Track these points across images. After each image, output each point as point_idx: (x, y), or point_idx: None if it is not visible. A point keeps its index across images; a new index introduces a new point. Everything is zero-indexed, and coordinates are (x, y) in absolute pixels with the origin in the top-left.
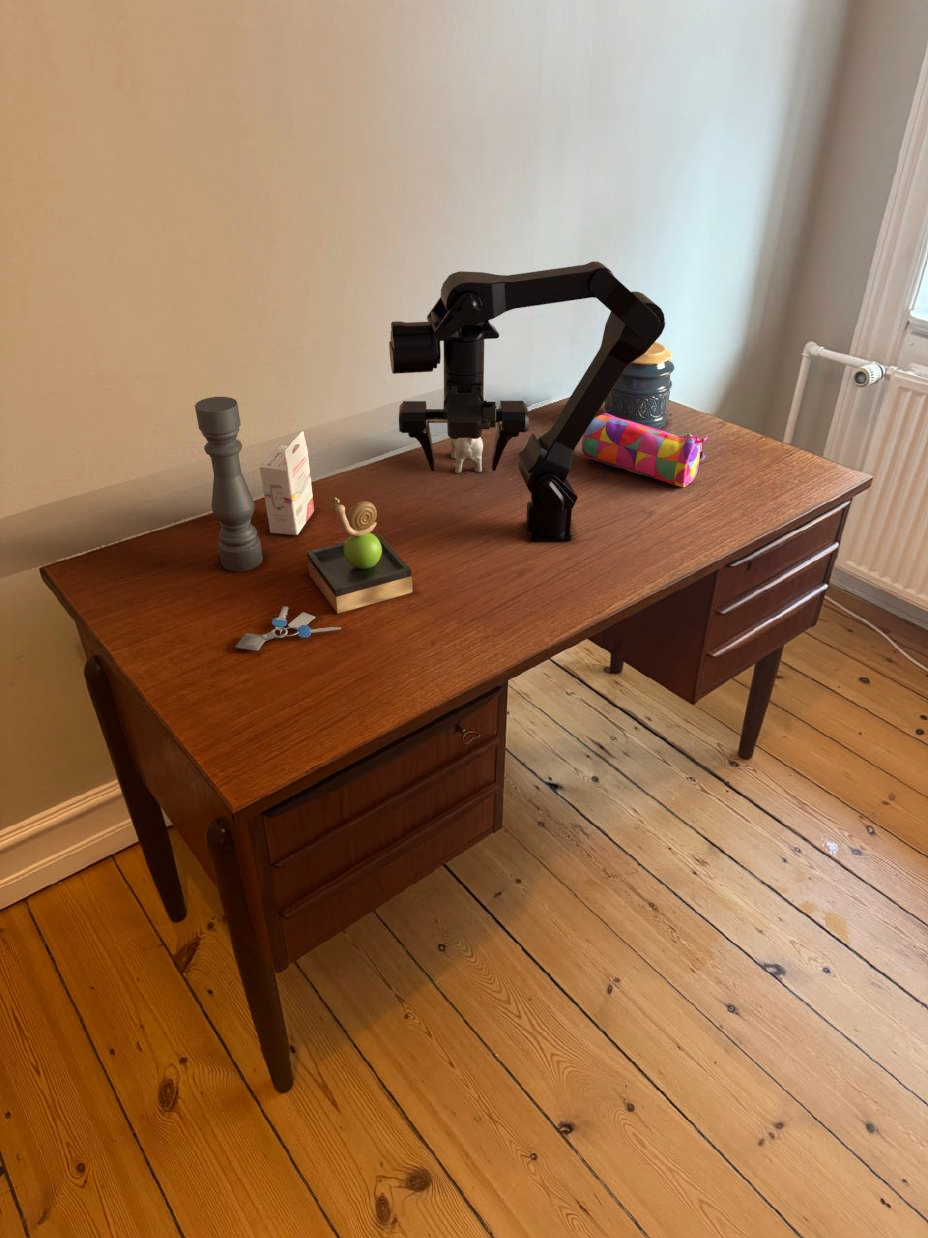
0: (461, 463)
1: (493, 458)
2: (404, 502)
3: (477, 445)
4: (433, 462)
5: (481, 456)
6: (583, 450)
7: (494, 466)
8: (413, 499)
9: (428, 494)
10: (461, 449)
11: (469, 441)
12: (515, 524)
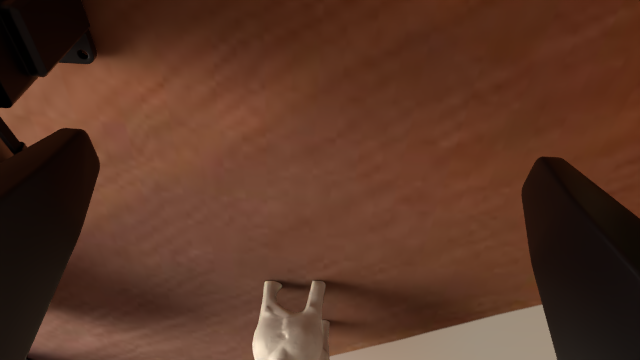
0: (310, 301)
1: (18, 204)
2: (481, 188)
3: (265, 344)
4: (583, 206)
5: (260, 315)
6: None
7: (45, 147)
8: (452, 199)
9: (405, 215)
10: (307, 336)
11: (284, 356)
12: (141, 48)
